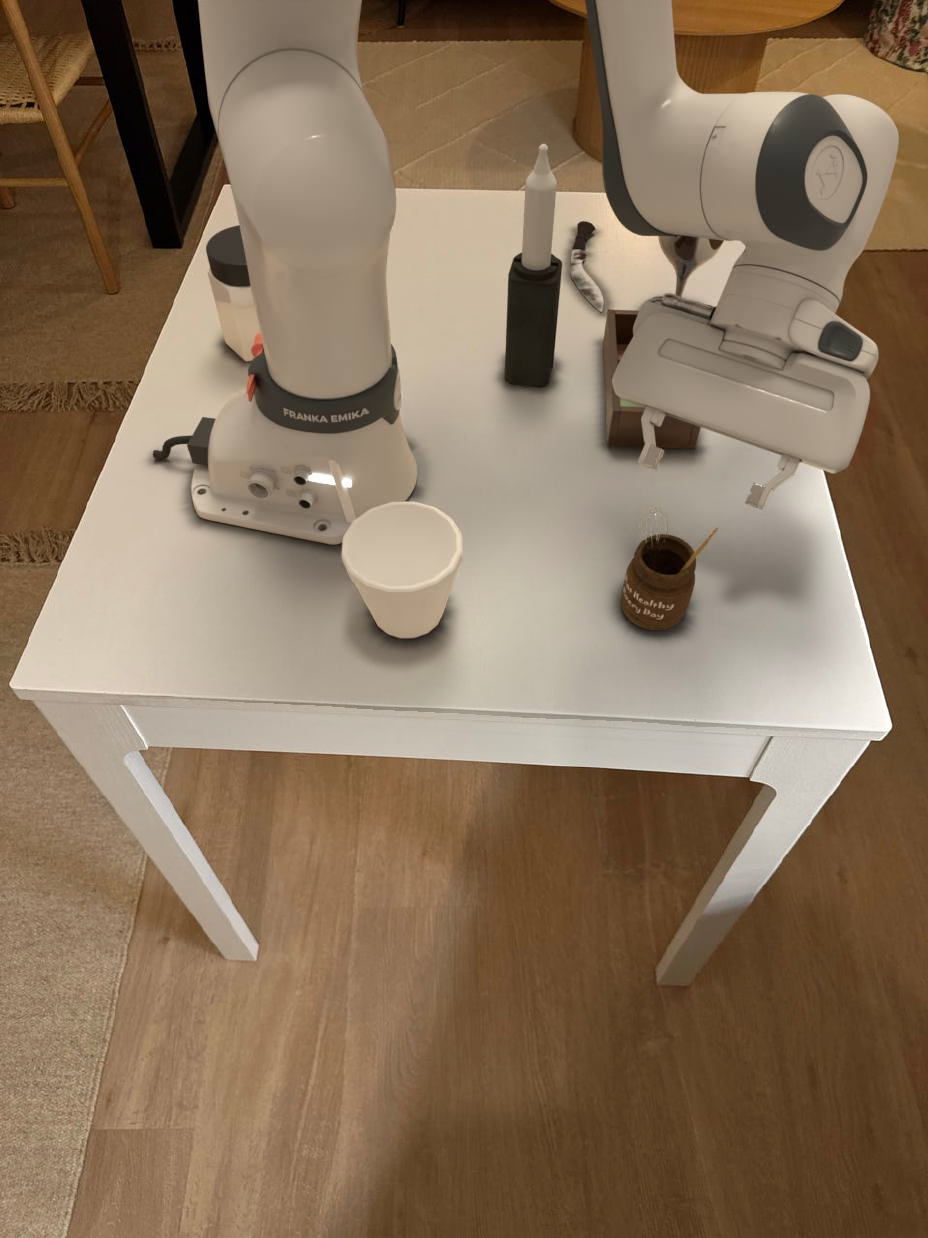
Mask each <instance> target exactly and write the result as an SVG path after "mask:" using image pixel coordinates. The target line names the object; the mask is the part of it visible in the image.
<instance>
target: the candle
mask: <svg viewBox="0 0 928 1238" xmlns="http://www.w3.org/2000/svg"><path fill="white" fill-rule="evenodd" d="M548 151H549V147H548V145H547V144H546V143H541V145H539V147H538V152H539V153H538V156H537V158H536V161H535V164H534V167H533V169H532V171H531V172H530V173H529V174H528V176H527V177H526V178H525V179H526V180H525V186H524V187H525V188H524V189H525V190H524V205H523V206H524V208H523V209H524V210H523V225H522V226H523V227H522V247H521V248H522V249H521V252H519V253H518V254H516V255H515V256H514V257H513V258H512V261H511V265H510V268H509V272H508V274H507V275H508V276H507V277H508V278H507V301H506V302H507V303H506V304H507V305H506V328H505V354H504V376H503V377H504V380H505V382H506V383H508V384H510V385H517V386H523V387H530V388H531V387H532V388H544V387H547V386H548V385H549V384H550V381H551V373H552V371H551V369H552V368H554V362H555V361H554V360H555V351H556V350H555V349H556V339H557V338H556V337H557V327H558V317H559V316H558V315H559V306H560V295H561V284H562V283H561V282H562V273H563V262H562V260H561V259H560V258H558V257H557V256H556V255H555V254H553V253H552V250H553V249H552V248H553V238H554V237H553V234H554V222H555V210H556V200H557V199H556V197H557V184H558V182H557V179H556V177H555V176H554V174H553V172H552V171H551V165H550V161H549V157H548Z"/></svg>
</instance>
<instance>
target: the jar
mask: <svg viewBox="0 0 928 1238" xmlns="http://www.w3.org/2000/svg"><path fill="white" fill-rule="evenodd" d="M205 252H206V257H207V260H208V264H209V268H208V269H207V276H208V279H209V280H208V281H209V284H210V288H211V293H212V296H213V300H214V303H215V308H216V312H217V315H218V319H219V323H220V328H221V331H222V335H223V339H224V342H225V344H227V346H228V347H229V348H231V350H233V352H235V353H236V354H237V355H238V356H239V357H240V358H241V359H242V360H243V361H244V362H251V361H252V360H253V359H254V358H255V357H254V356H253V355H252V352H251V348H252V346H253V345H254V339H255V337H256V335H257V334H258V333H260V329H259V324H258V320H257V315H256V310H255V306H254V301H253V296H252V292H251V287H250V279H249V273H248V267H247V262H246V256H245V251H244V246H243V240H242V235H241V231H240V226H239V224H238V225H234V226H230V227H227V228H224V229H222V230H220V231H218V232H216V233H214V234H213V236H211V237H210V238H209V240H208V241H207V243H206V245H205Z"/></svg>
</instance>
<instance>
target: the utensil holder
mask: <svg viewBox="0 0 928 1238" xmlns="http://www.w3.org/2000/svg"><path fill="white" fill-rule="evenodd" d="M646 510H647V511H646ZM645 511H646V512H645ZM659 511H660V512H663V513H664V514H665V515H666V519H665V517H664V516H663V515H661V518H663V521H664V523H665V527H666V532H665V533H656V534H653V535H652V534H650V536H647V533H648V531H647V530H648V522H649V524H650V526H649V528H650V530H652V513H654V516H655V518H657V514H656V512H657V513H658V514H660V512H659ZM644 512H645V513H644ZM647 513H649V515H648V518H647V521H646V525H645V535H644V531H643V529H641V533H642V536H643V540H642V536H641V534H639V537H640V543H639V544H638V545H637V547H636V549H635V550H634V553H633V557H632V558H631V560H630V562H629V563H628V566H627V568H626V571H625V576H624V579H623V583H622V589H621V596H620V598H621V599H620V604H621V608H622V611H623V613H624V615H625V616H626V618H627V619H628V620H629V621H630V622H631V623H632V624H634V625H636V626H637V627H638V628H639V627H640V628H641V629H644V630H648V631H664V630H668V629H671V628H673V627H675V626H677V625H678V624H679V623H680V622H681V621H682V619H683V618H684V617H685V615H686V613H687V611H688V608H689V605H690V601H691V599H692V595H693V592H694V588H695V584H696V570H697V569H696V568H697V557H698V556H699V555H700V554H701V552H703V550H704V549H705V547H706V546H707V545H708V543H709V542H710V541H711V539H712V538H713V536H714V535H715V534H716V532H717V531H718V530H719V528H718V527H715V528H714V530H713V531H711V533H710V534H709V535H708V536H707V537H706V538H705V540H704V541H703V542H702V543H701V544H700V546H699V547H698V548H697V549H696V550H694V549H693V547H692V546H691V545H690V544H689V543H688V542H687V541H686V540H684V539H682V538H680V537H678V536H676V535H672V534H668V530H669V529H668V528H669V521H668V520H669V519H668V518H669V517H668V514H667V512H665V510H663V509H661V507H659V506H655V508H654V507H653V506H651V508H649V510H648V508H646V509H645V508H644V510H643V511H642V513H641V518H640V519H639V524H640V527H643V517H644V516H645V515H646V514H647ZM649 520H650V521H649ZM655 523H656V526H658V520H657V519H655ZM659 527H660V528H659V532H661V530H662V526H659Z"/></svg>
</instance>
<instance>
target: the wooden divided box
mask: <svg viewBox="0 0 928 1238" xmlns="http://www.w3.org/2000/svg"><path fill="white" fill-rule="evenodd" d="M638 313H639V310H636V309H635V310H633V309H611V308H610V309H607V312H606V320H605V324H604V325H605V326H604V333H603V340H602V355H603V377H604V378H603V379H604V399H605V401H604V403H605V423H606V424H605V426H606V444H607V446H615V447H616V446H617V447H639V448H640V447H641V448H643V447H644V445H645V442H644V437H643V430H642V422H641V418H642V415H643V413H644V410H645V407H642V406H639V405H637V404H634V403H631V402H628V401H625V400H623V399H621V398H620V397H618V396H617V395H616V393H615V391H614V388H613V385H612V378H613V375H614V373H615V371H616V368H617V366H618V364H619V362H620V360H621V358H622V356H623V354H624V352H625V350H626V349H627V347H628V345H629V343H630V342H631V340H632V338H633V337H634V336H633V326H634V323H635V320H636V318H637V315H638ZM701 428H702V427H699V426H696V425H693V424H691V423H688V422H685V421H682V420H679V419H676V418H673V417H671V416H668V415H665V417H664V420H663V422H662V424H661V426H660V427H658V426H655V425H654V433H655V442H656V447H658V448H661V449H663V448H665V449H687V450H695V449H696V446H697V443H698V440H699V435H700V431H701Z"/></svg>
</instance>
